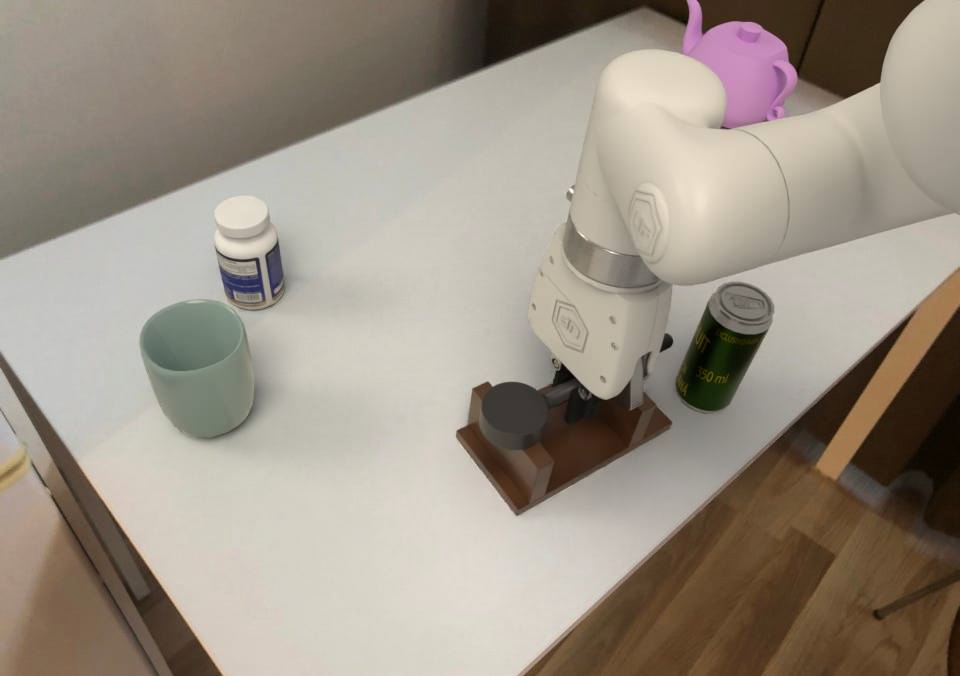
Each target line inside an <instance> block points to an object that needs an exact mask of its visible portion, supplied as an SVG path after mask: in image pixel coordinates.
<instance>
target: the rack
mask: <svg viewBox="0 0 960 676" xmlns="http://www.w3.org/2000/svg"><path fill="white" fill-rule="evenodd" d="M552 384H553V382H552V383H549V384H548V385H545V386H543V387H541V388H539V389H537V390H538V391H539V392H540V393H541V394H542V393H544V392H546V391H548V390H550V389H551V388H552ZM492 387H493V385H492V384H491V382H489V380H488V381H485V382H483V383H480V384H478V385H477V386H474V387H473V388H472V389H471V395H470V403H469V410H468V418H467V425H464V426H463V427H460V428H459V429H457V430H456V433H455V438H456V440H458V442H459V443H460V444H461V446H462V447H463V448H464V450H465V451H466V452H467V454H468V455H469V456H470V457H471V459H472V460H473V462H475V464H476V465H477V466H478V468H479V469H480V471H481V472H482V473H483V474H484V476H485V477H486V478H487V480H488V481H489V482H490V484H491V485H492V486H493V488H495V491H497V493H498V494H499V495H500V497H501V498H502V499H503V500H504V502H505V503H506V504H507V506H508V507H509V508H510V510H511V511H512V512H513V514H514V515H515V516H516V517H518V516H520V515H522V514H524V513H525V512H527V511H529V510H531V509H532V508H534V507H536V506H537V505H540V504H542V503H543V502H545V501H546V500H548V499H551V497H553V496H556V495H557V494H559V493H560V492H562V491H564V490H566V489H567V488H569V487H571V486H572V485H574V484H576V483H577V482H579V481H581V480H583V479H585V478H587V477H588V476H590V475H591V474H593V473H595V472H596V471H599V470H601V469H602V468H604V467H606V466H608V465H609V464H611V463H612V462H614V461H617V460H618V459H620V458H622V457H623V456H625V455H627V454H628V453H630V452H631V451H634V450H635V449H637V448H639V447H641V446H642V445H644V444H646V443H647V442H649V441H651V440H653V439H654V438H656V437H658V436H660V435H661V434H663V433H665V432H667V431H669V430H670V429H671V427H672V425H673V421H672V420H671V419H670V418H669V417H668V416H667V415H666V414H665V413H664V412H663V411H662V410H661V409H660V408H659V407H658V405H657V403H656V402H655V401H654V400H653V399H652V398H651V397H650V396H649V395H648V394H647V393H646V392H645V391H644V390H643V404H641V405H640V406H638V407H636V408H634V409H632V410H630V411H628V410H626V409H624V408H623V407H621V406H620V405H618V404H617V403H615V402H614V400H613V399H611V398H610V399H608V400H604V399H602V400H601V403H600V406H599V410H598V412H597V413H596V414H595V415H594V416H593V417H591V418H589V419H587V420H583V419H580V420H578V421H576V422H575V423H573V424H571V425H568V424H567V423H566V421H565V420H564V419H565V418H564V416H565V412H566V408H567V405H568V401H567V402H565V403H563V404H561V405H559V406H557V407H553V408H551V409H549V415H548V419H547V423H546V427H545V431H544V434H543V436H542V438H541V439H540V440H539V441H538V442H537V443H536V444H535V445H533V446H532V447H529V448H527V449H523V450H507V449H503V448H500V447H498V446H496V445H494V444H493V443H491V442H490V441H489V440H488V439H487V438H486V437H485V436H484V434H483V433H482V431H481V428H480V424H479V417H480V411H481V404H482V399H483V397H484V395H485V394H486V392H487V391H488V390H489V389H491V388H492Z"/></svg>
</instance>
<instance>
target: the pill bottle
mask: <svg viewBox="0 0 960 676" xmlns="http://www.w3.org/2000/svg"><path fill="white" fill-rule="evenodd" d="M214 221H215V225H216V226H215V227H216V229H215V231H214V234H213V244H214V250H215V254H216V259H217V263H218V267H219V273H220V277H221V281H222V287H223V290H224V294H225V297H226V299H227V300H228V301H229V302H230V303H231V304H232V305H233V306H235V307H238V308H239V309H243V310H249V311H254V310H255V311H256V310H263V309H265V308H268V307H270V306H271V307H272V305H274V304H276V302H278V301H279V300H280V299H281V298H282V296H284V295H283V294H284V292H285V289H286V283H285V275H284V269H283V262H282V254H281V249H280V248H281V247H280V241H279V235H278V231H277V228H276V227H275V225H274V223H273V222H272V221H271V216H270V211H269V206H268V205H267V204H266V202H265V201H264V200H262V199H261V198H258V197H256V196H252V195H235V196H232V197H229V198H227V199H225V200H223V201H222V202H220V203H219V204H218V205H217V206H216V208H215V210H214Z"/></svg>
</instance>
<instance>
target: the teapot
mask: <svg viewBox="0 0 960 676" xmlns="http://www.w3.org/2000/svg"><path fill="white" fill-rule="evenodd" d="M686 3H687V6H688V12H689V14H688V20H687V25H686V29H685V32H684V35H683V38H682V43H681V54H683V55H686V56H689V57H691V58H694V59H696V60H698V61H700V62H701V63H703V64H705V65H706V66H707V67H709V68H710V69H711V70H712V71H713V72H714V73H715V74H716V75H717V76H718V77H719V78H720V80H721V82H722V83H723V86H724V88H725V92H726V97H727V106H726V113H725V116H724V119H723V122H722V125H721V128H723V129H733V128H737V127H742V126H747V125H752V124H757V123H761V122H766V121H771V120H776V119H781V118H786V114H787V113H786V110H785V108H784V107H783V106H784V104H785V101H786V100H787V98H788V97H789V96H791V94H792V93H793V91H794V90H795V88H796V87H797V83H798V73H797V70H796V68H795V67H794V65H793V64H791V63H790V60H789V52H788V47H787V46H786V44H785V43H784V42H783V41H782V40H781V39H780V38H778V37H777V36H776V35H774V34H772V33H771V32H770V31H768V30H766V29H764V28H763V26H762V25H760V24H758V23H756V22H753V21H738V20H737V21H735V20H733V21H728V22H725V23H721V24H719V25H715V26H714V27H711V28H710V29H709V30H707V31H706V32H705V33H704V34H703V32H702V31H703V29H702V27H703V11H702V7H701V5H700V3H699V1H698V0H686Z"/></svg>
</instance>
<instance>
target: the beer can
mask: <svg viewBox="0 0 960 676" xmlns="http://www.w3.org/2000/svg"><path fill="white" fill-rule="evenodd" d="M774 314H775V304H774V302H773V299H772V298H771V297H770V296H769V295H768V294H767V293H766V292H765V291H764V290H763V289H761V288H760V287H758V286H756V285H754V284H752V283H748V282H744V281H729V282H724V283H722V284H720V285H719V286H718V287H717V289H716V291H715V292H714V293H712V294H711V296H710V297H709V299H708V301H707V304H706V306H705V308H704V311H703V313H702V315H701V318H700V319H699V323H698V324H697V326H696V330H695V332H694V335H693V337H692V338H691V341H690V344H689V346H688V348H687V350H686V353H685V356H684V358H683V360H682V363H681V365H680V367H679V370H678V371H677V374H676V377H675V384H674V385H675V390H676V393H677V396H678V398H679V400H680V401H681V402H682V404H684V405H685V406H686V407H687V408H688V409H690V410H693V411H695V412H697V413H702V414H714V413H719V412H721V411H722V410H724V409H725V408H727V407H728V406H730V405H731V402H732V401H733V399H734V398H735V395H736V393H737V391H738V390H739V387H740V385H741V383H742V381H743V380H744V377H745V376H746V374H747V372H748V370H749V368H750V367H751V364H752V363H753V361H754V359H755V357H756V355H757V353H758V351H759V349H760V348H761V345H762V343H763V341H764V340H765V337H766V336H767V334H768V332H769V331H770V327H771V326H772V324H773V322H774Z"/></svg>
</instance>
